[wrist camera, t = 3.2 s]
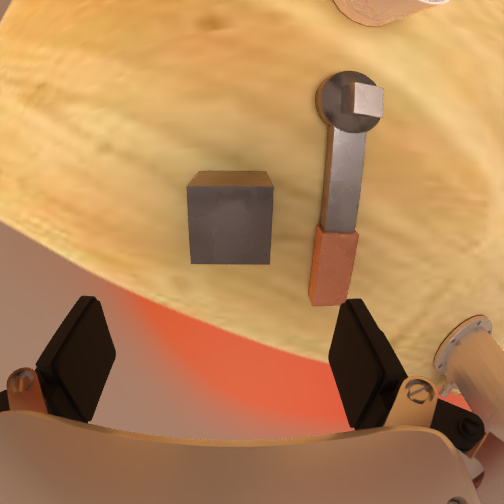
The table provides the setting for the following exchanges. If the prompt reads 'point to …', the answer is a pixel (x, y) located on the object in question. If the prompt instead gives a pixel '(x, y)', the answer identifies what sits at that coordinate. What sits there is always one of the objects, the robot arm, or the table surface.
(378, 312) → the table surface
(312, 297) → the ratchet
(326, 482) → the robot arm
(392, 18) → the peach tapered cup
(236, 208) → the two-tone cube
